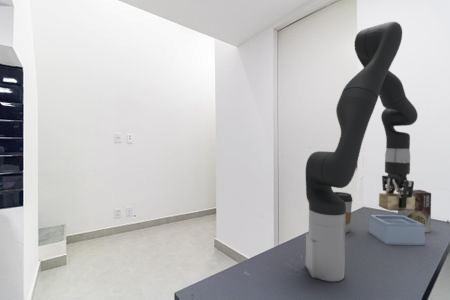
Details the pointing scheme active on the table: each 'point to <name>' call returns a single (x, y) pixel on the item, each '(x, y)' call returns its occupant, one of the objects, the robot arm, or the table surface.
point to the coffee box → (420, 209)
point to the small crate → (395, 202)
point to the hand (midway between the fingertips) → (395, 205)
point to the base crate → (397, 230)
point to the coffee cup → (348, 201)
